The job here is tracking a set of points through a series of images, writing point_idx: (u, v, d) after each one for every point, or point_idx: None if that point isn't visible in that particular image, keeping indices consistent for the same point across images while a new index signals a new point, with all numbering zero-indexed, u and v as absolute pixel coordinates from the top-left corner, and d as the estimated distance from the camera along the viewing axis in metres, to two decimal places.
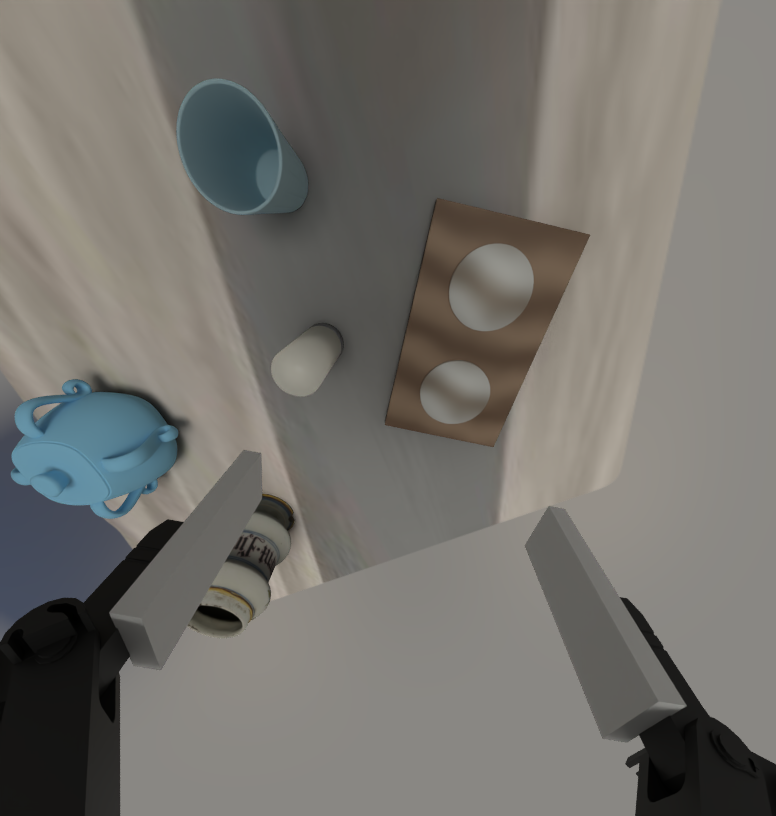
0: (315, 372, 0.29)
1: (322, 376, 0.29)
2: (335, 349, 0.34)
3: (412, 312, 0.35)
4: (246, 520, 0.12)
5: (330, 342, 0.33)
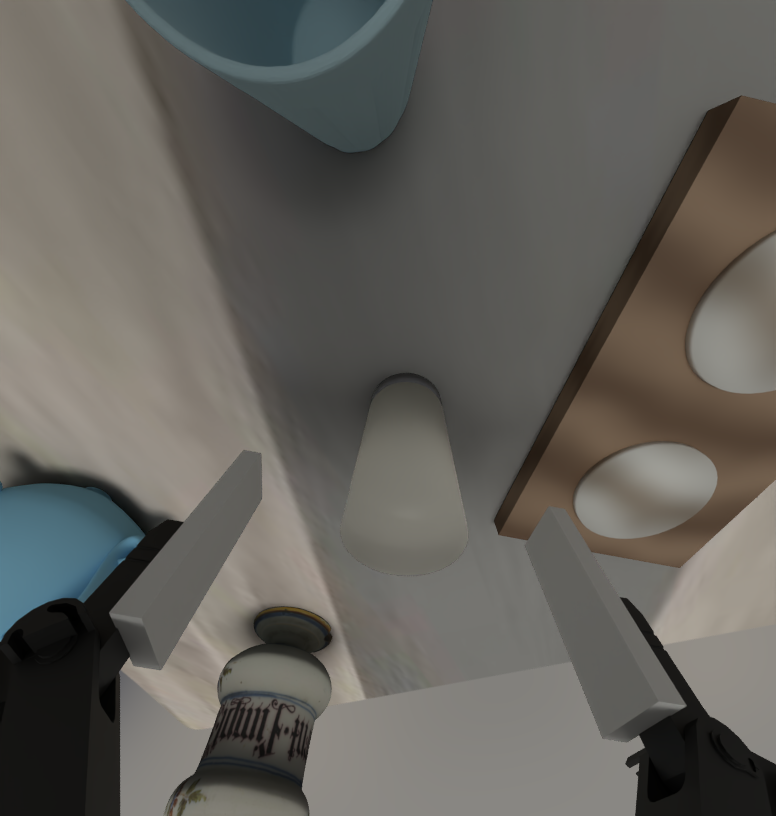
0: (452, 536, 0.11)
1: None
2: None
3: (599, 357, 0.17)
4: (246, 520, 0.12)
5: (443, 426, 0.16)
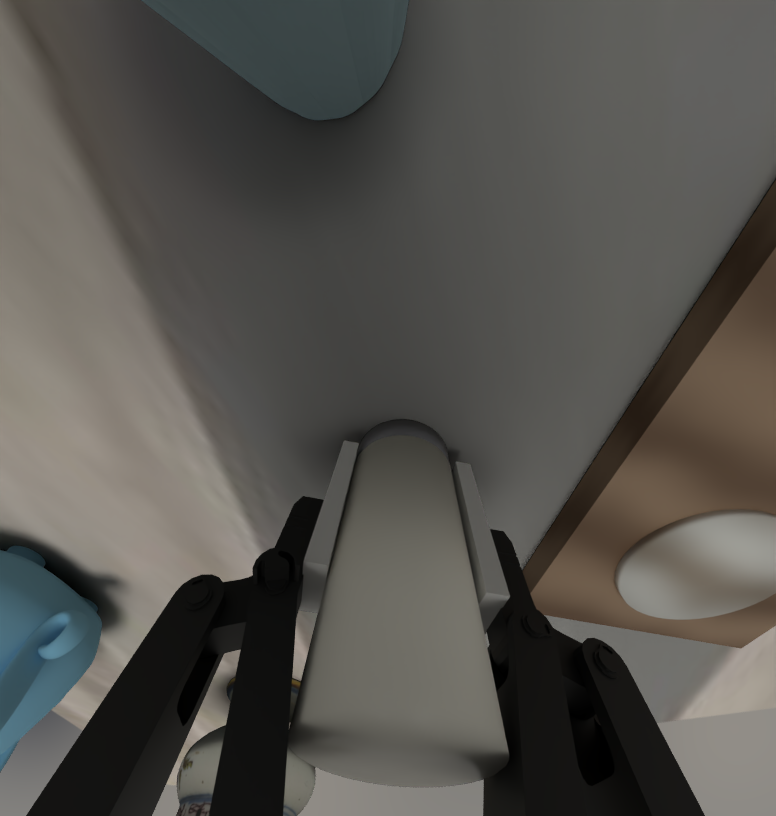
0: (480, 758, 0.07)
1: None
2: None
3: (667, 407, 0.13)
4: None
5: (455, 510, 0.11)
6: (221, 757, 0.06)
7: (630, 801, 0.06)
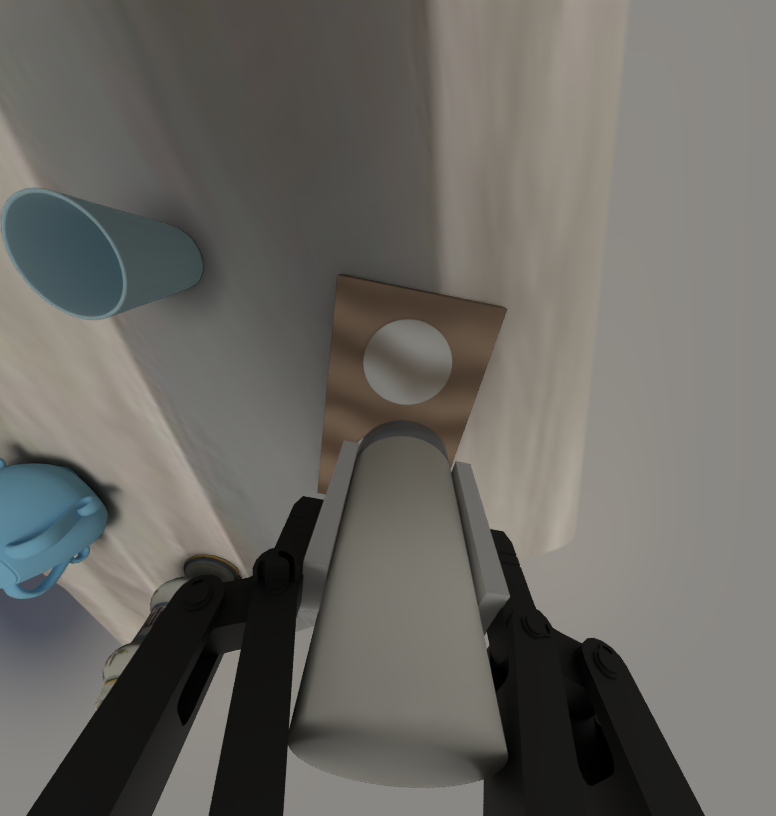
0: (479, 759, 0.07)
1: None
2: None
3: (328, 386, 0.32)
4: None
5: (454, 511, 0.11)
6: (221, 757, 0.06)
7: (630, 801, 0.06)
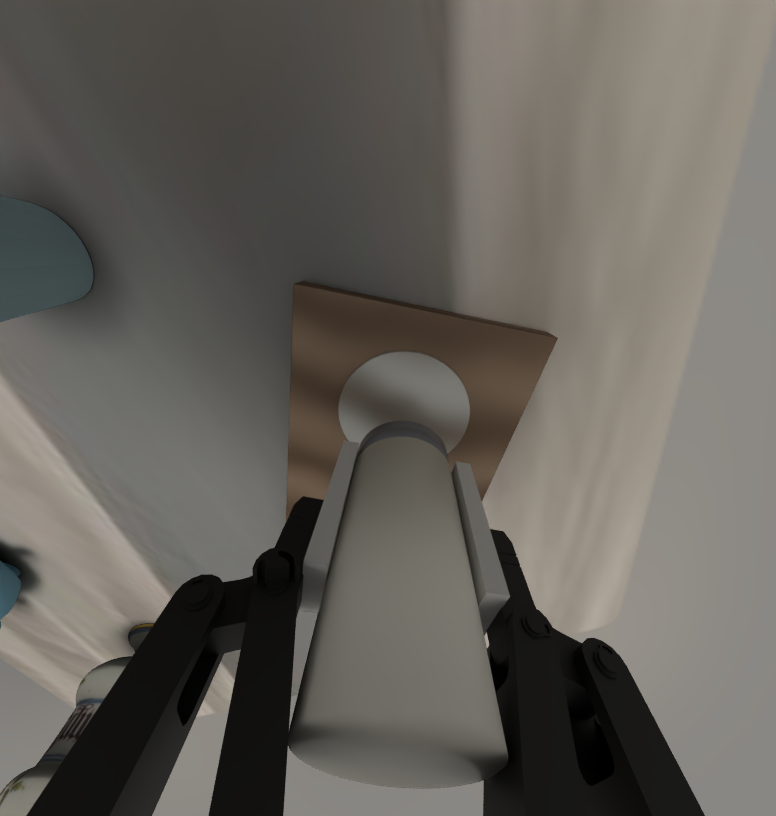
0: (480, 760, 0.07)
1: None
2: None
3: (291, 440, 0.22)
4: None
5: (454, 511, 0.11)
6: (221, 757, 0.06)
7: (630, 801, 0.06)
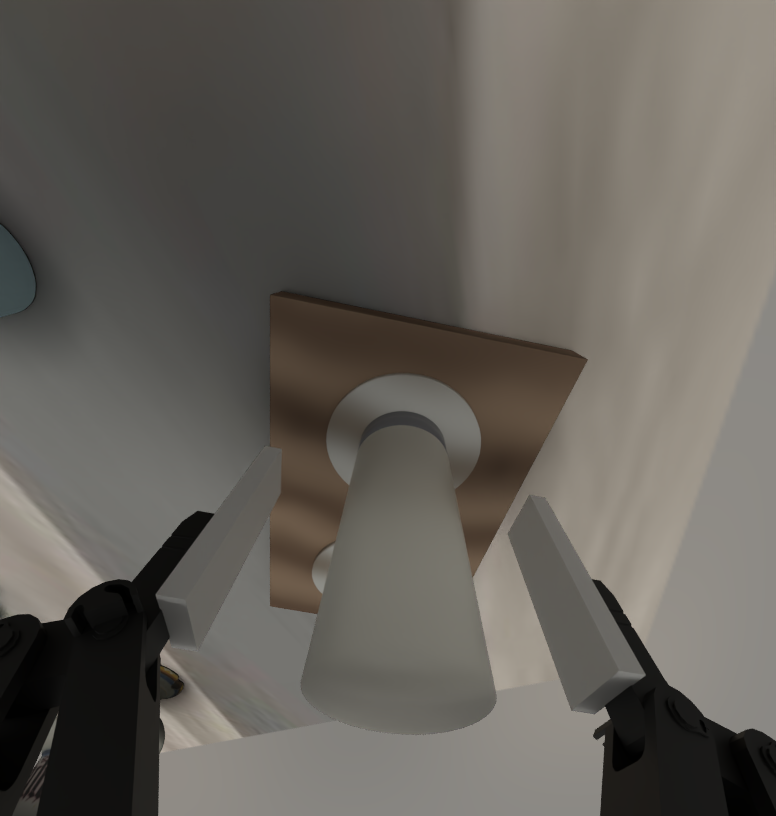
0: (471, 700, 0.07)
1: None
2: None
3: None
4: (267, 513, 0.13)
5: (451, 492, 0.12)
6: None
7: None
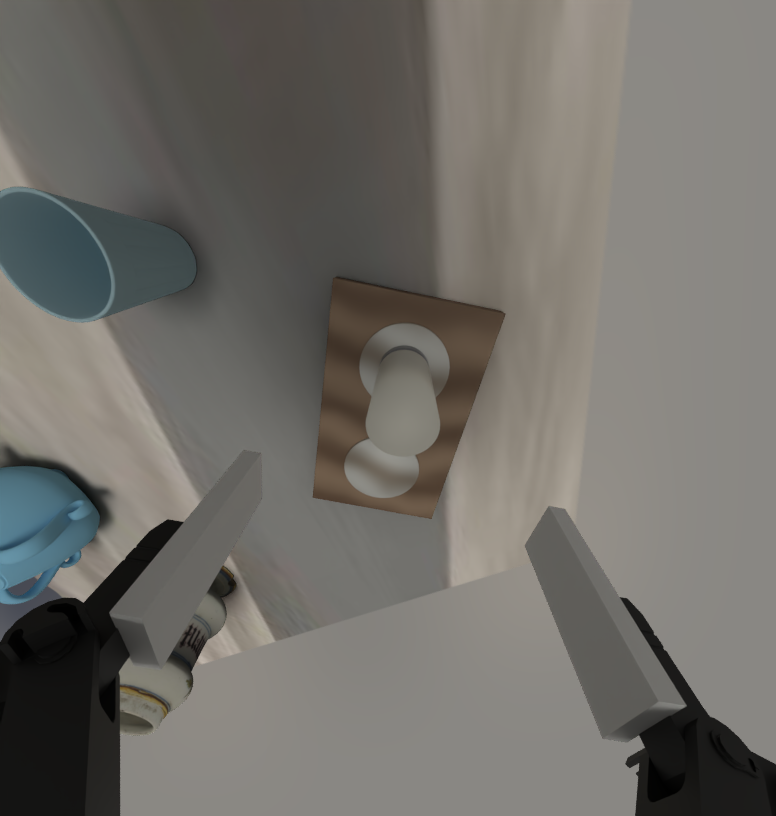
0: (431, 425, 0.20)
1: None
2: None
3: (324, 390, 0.32)
4: (246, 520, 0.12)
5: (428, 374, 0.24)
6: None
7: None
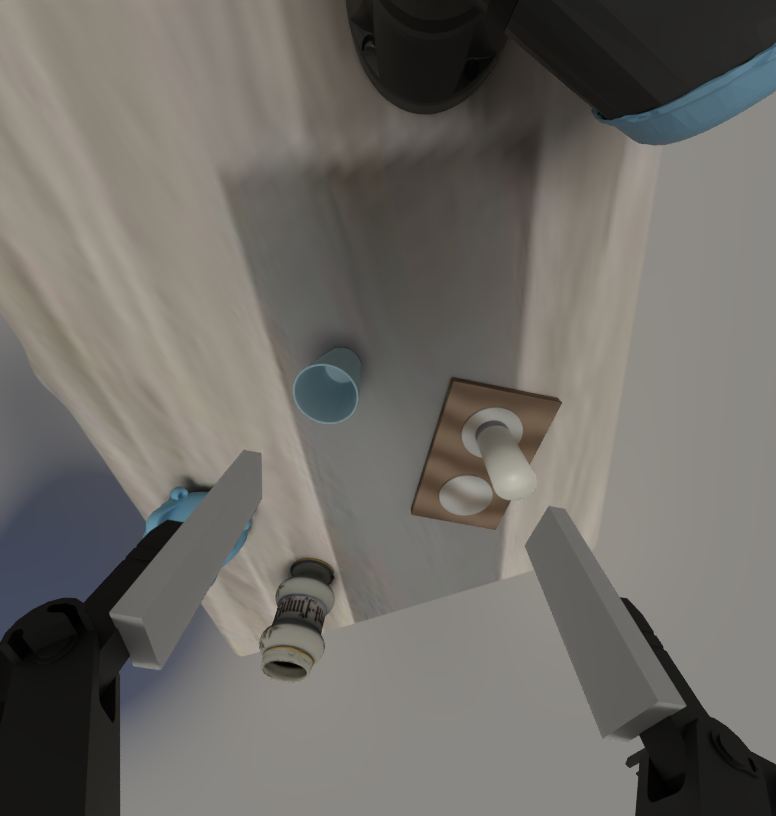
0: (531, 484, 0.35)
1: None
2: None
3: (434, 445, 0.47)
4: (246, 520, 0.12)
5: (518, 446, 0.40)
6: None
7: None
